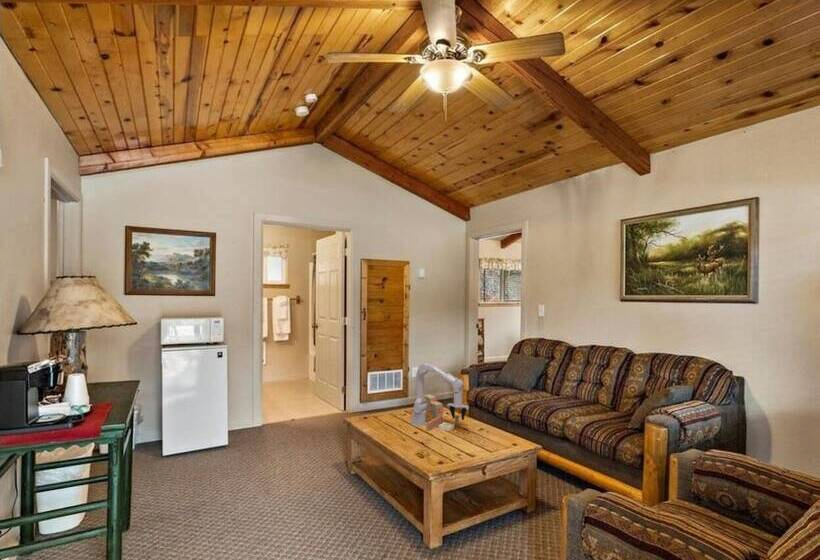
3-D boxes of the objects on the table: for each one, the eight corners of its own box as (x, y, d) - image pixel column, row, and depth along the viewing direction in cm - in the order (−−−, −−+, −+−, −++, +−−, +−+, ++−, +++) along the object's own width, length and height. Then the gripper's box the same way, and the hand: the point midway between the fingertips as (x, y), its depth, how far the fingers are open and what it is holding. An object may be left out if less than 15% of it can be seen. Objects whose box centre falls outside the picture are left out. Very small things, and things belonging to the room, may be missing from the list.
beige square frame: (438, 429, 288) (438, 425, 288) (443, 426, 295) (443, 422, 295) (449, 431, 284) (449, 427, 284) (454, 427, 291) (454, 424, 291)
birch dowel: (454, 426, 294) (454, 416, 294) (456, 425, 296) (455, 415, 296) (457, 427, 293) (457, 416, 293) (459, 426, 295) (459, 415, 295)
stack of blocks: (443, 416, 320) (443, 399, 320) (435, 417, 317) (435, 400, 317) (429, 409, 339) (429, 393, 339) (422, 410, 336) (422, 394, 337)
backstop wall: (426, 430, 286) (426, 423, 286) (439, 422, 303) (439, 415, 303) (429, 431, 285) (429, 423, 285) (442, 422, 302) (442, 415, 302)
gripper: (445, 398, 286) (445, 418, 285) (465, 401, 279) (466, 422, 278) (449, 396, 292) (450, 416, 292) (469, 398, 285) (470, 419, 284)
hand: (458, 418), depth 285 cm, fingers open, 6 cm apart
